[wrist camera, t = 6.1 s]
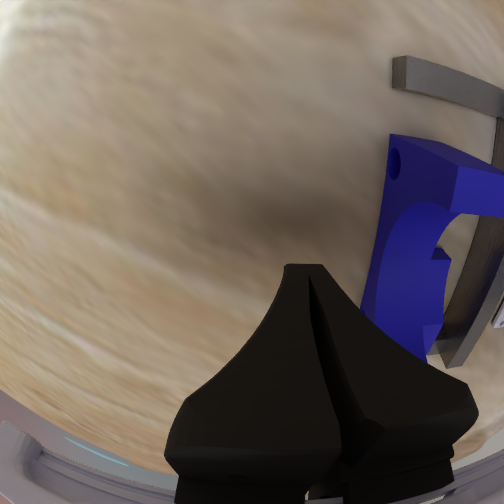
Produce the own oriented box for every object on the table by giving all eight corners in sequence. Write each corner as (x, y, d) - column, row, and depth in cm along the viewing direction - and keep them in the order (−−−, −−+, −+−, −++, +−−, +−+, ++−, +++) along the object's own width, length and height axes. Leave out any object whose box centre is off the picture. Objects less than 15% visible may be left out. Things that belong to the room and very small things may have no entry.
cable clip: (413, 322, 18) (442, 391, 13) (354, 325, 18) (373, 403, 13) (461, 146, 12) (537, 185, 7) (388, 133, 12) (458, 166, 7)
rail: (514, 100, 9) (549, 109, 7) (447, 337, 18) (461, 365, 16) (392, 57, 10) (423, 52, 7) (348, 346, 19) (355, 380, 16)
